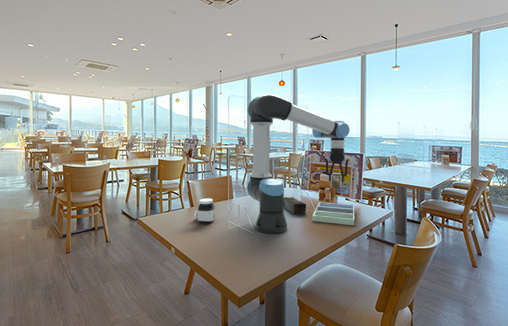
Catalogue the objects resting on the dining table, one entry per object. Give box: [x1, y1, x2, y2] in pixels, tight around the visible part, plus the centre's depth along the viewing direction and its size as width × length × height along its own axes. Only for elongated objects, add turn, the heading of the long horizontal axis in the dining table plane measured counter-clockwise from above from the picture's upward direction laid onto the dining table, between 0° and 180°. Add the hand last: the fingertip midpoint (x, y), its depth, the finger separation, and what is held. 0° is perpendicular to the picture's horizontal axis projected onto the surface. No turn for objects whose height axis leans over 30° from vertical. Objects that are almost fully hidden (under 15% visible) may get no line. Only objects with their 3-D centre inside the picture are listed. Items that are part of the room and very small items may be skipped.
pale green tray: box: [312, 210, 355, 226], centre depth 143 cm, size 21×9×3 cm, turn 70°
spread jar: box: [193, 197, 216, 224], centre depth 142 cm, size 12×11×12 cm
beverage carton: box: [284, 196, 307, 216], centre depth 163 cm, size 8×19×7 cm, turn 15°
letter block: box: [331, 172, 341, 190], centre depth 158 cm, size 4×5×8 cm
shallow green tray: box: [314, 205, 355, 215], centre depth 152 cm, size 21×9×3 cm, turn 70°
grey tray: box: [317, 201, 355, 210], centre depth 161 cm, size 21×9×3 cm, turn 70°
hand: (335, 187), depth 159 cm, fingers closed on letter block, 4 cm apart
